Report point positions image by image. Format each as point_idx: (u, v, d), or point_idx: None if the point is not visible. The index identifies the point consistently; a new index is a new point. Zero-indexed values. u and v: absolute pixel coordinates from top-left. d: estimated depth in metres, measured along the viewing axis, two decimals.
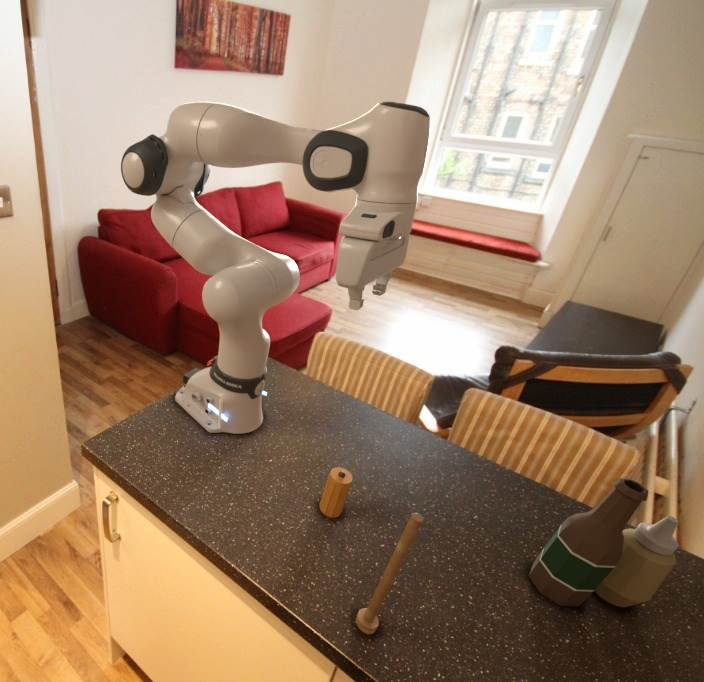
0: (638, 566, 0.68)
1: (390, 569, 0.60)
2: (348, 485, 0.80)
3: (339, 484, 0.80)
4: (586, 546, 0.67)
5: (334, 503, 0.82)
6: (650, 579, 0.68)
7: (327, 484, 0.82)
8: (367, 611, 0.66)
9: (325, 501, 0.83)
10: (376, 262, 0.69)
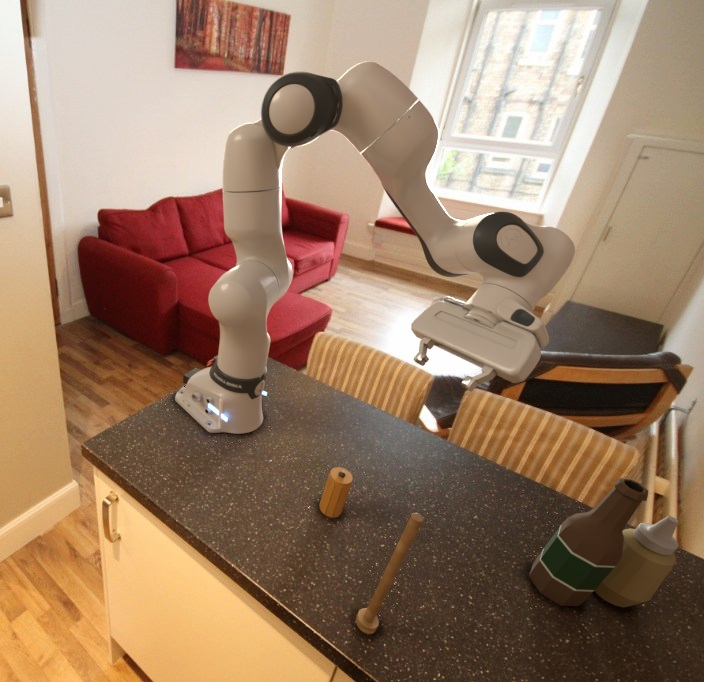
0: (638, 566, 0.68)
1: (390, 569, 0.60)
2: (348, 485, 0.80)
3: (339, 484, 0.80)
4: (586, 546, 0.67)
5: (334, 503, 0.82)
6: (650, 579, 0.68)
7: (327, 484, 0.82)
8: (367, 611, 0.66)
9: (325, 501, 0.83)
10: None
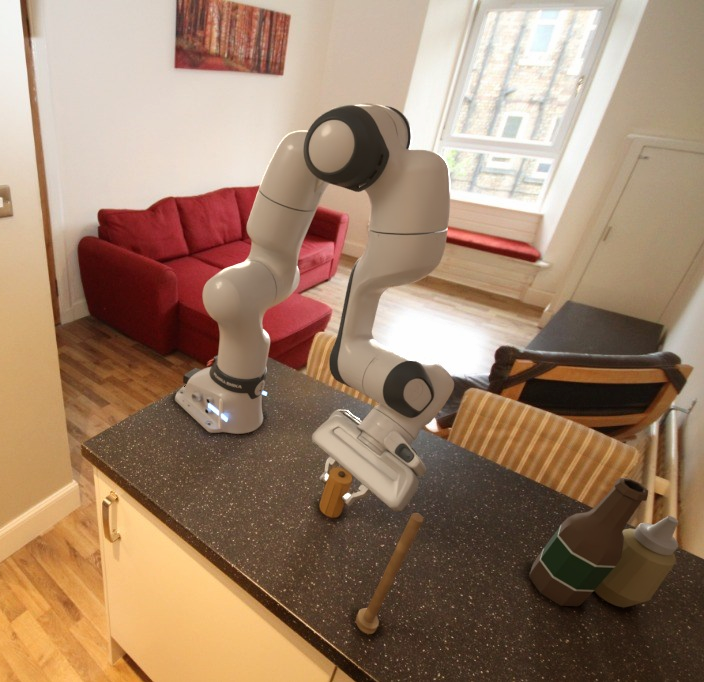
0: (638, 566, 0.68)
1: (390, 569, 0.60)
2: (348, 485, 0.80)
3: (339, 484, 0.80)
4: (586, 546, 0.67)
5: (334, 503, 0.82)
6: (650, 579, 0.68)
7: (327, 484, 0.82)
8: (367, 611, 0.66)
9: (325, 501, 0.83)
10: None
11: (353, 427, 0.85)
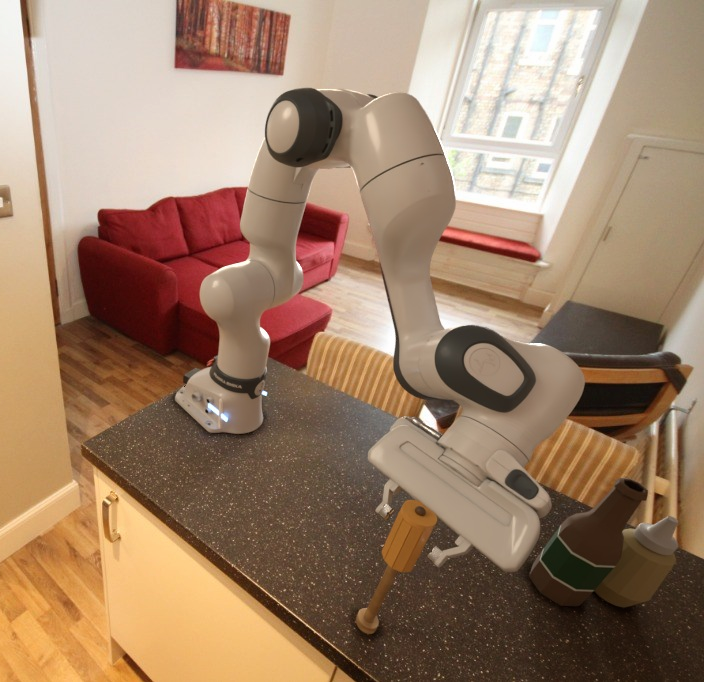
0: (638, 566, 0.68)
1: (390, 569, 0.60)
2: (431, 528, 0.54)
3: (418, 526, 0.54)
4: (586, 546, 0.67)
5: (408, 553, 0.56)
6: (650, 579, 0.68)
7: (397, 525, 0.56)
8: (367, 611, 0.66)
9: (393, 549, 0.57)
10: None
11: (431, 442, 0.59)
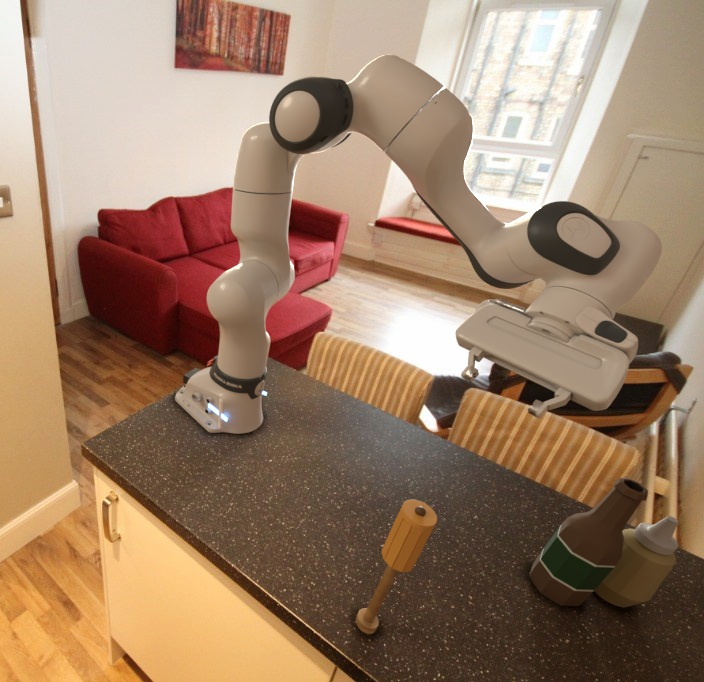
0: (638, 566, 0.68)
1: (390, 569, 0.60)
2: (431, 528, 0.54)
3: (418, 527, 0.54)
4: (586, 546, 0.67)
5: (408, 553, 0.56)
6: (650, 579, 0.68)
7: (397, 525, 0.56)
8: (367, 611, 0.66)
9: (393, 549, 0.57)
10: None
11: (518, 314, 0.66)
